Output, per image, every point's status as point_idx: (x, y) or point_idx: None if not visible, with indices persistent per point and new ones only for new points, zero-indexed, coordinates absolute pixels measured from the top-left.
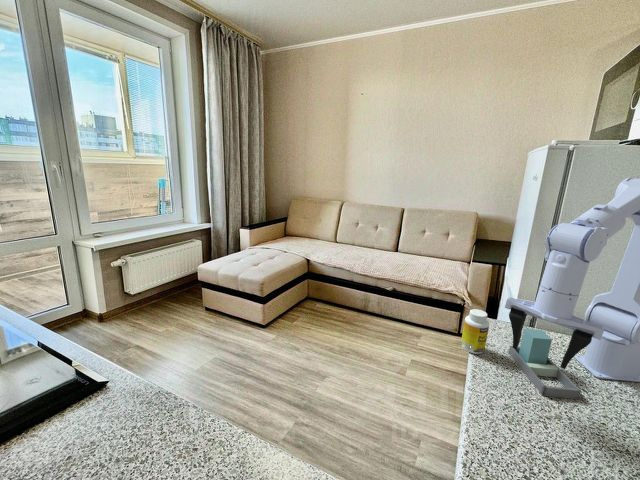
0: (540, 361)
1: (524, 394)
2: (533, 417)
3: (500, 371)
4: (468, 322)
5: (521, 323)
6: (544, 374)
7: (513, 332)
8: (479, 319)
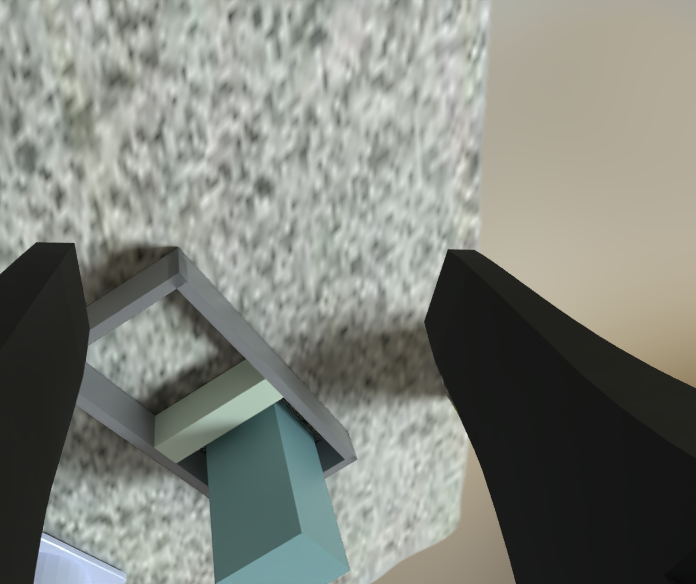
0: (229, 448)
1: (249, 195)
2: (179, 26)
3: (365, 289)
4: None
5: (680, 449)
6: (199, 394)
7: (595, 336)
8: None
